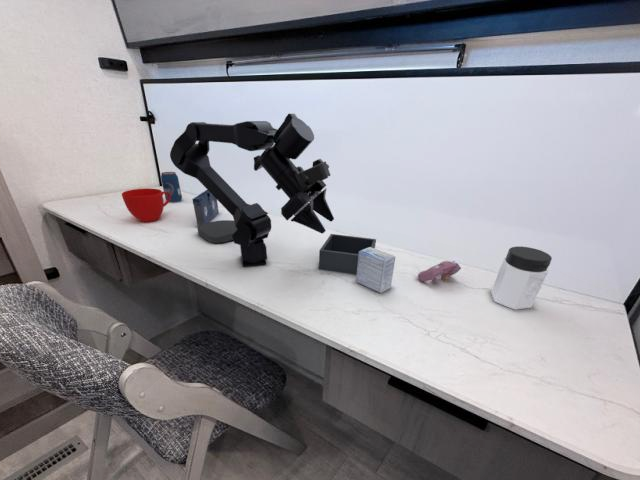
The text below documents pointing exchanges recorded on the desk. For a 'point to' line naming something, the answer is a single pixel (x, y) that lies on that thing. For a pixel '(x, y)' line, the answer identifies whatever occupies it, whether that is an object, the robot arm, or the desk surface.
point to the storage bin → (343, 253)
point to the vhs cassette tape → (205, 207)
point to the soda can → (171, 186)
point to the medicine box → (375, 269)
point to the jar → (520, 277)
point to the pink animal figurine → (439, 271)
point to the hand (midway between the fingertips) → (328, 226)
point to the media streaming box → (217, 231)
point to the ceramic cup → (145, 203)
